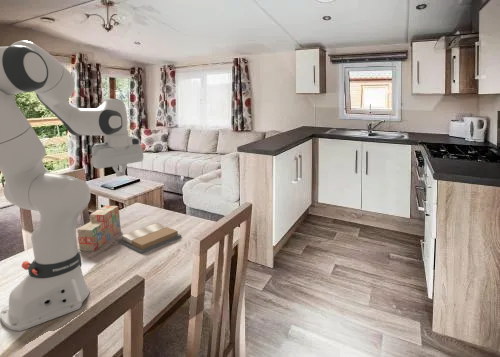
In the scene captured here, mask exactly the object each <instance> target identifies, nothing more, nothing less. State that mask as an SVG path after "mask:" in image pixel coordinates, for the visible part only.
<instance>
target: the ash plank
mask: <svg viewBox="0 0 500 357" xmlns="http://www.w3.org/2000/svg"><path fill="white" fill-rule="evenodd" d="M164 228H167V226H165V225H163V224H162V223H159V222H155V223H153V224H150V225H147V226H144V227H141V228H138V229H136V230H133V231H130V232H126V233H124V234H121V239H123V240H125V241H126V242H128V243H130V244H132V240H135V239H137V238H140V237H143V236H145V235H148V234H151V233H153V232H156V231H159V230H161V229H164Z"/></svg>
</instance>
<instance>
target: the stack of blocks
mask: <svg viewBox="0 0 500 357" xmlns="http://www.w3.org/2000/svg"><path fill="white" fill-rule="evenodd" d="M119 208H120V207H119V206H118V205H104V206H103V207H102V206H101V207H100V208H98V209H96V210H95V211H94V212H92V213H90V214H89V216H90V217H89V218H90V221H89V222H87V223H85V224H84V225H82V226H81V227H79V228H78V229H77V236H78V237H77V239H78V240H77V241H78V244H79V246H78V247H79V251H83V252H86V251H87V252H95V251H96V250H98V249H99V248H101V247H102V246H104V244H105V243H107V242H108V241H109V240H111V239H112V238H114V237H115V236H116V235H117V234H119V233H121V230H122V227H121V221H120V220H121V219H120V209H119Z"/></svg>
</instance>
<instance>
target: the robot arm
mask: <svg viewBox="0 0 500 357" xmlns="http://www.w3.org/2000/svg"><path fill="white" fill-rule="evenodd" d="M75 84H76V83H75V79H74V77H73V75H72V73H71V72H70V71H69V70H68V69H67V68H66V67H65V66H64V64H62V63H61V62H60V61H59V60H57V58H55V56H53V55H52V54H50V53H49V52H48V51H46V50H45V49H44V48H42V47H40V46H39V45H37V44H36V43H34V42H32V41H28V40H19V41H15V42H14V43H12V44H11V45H9V46H0V172H1V173H2V175H3V178H4V181H5V183H4V186H3V194H4V197H5V199H6V201H7V202H9V203H11V204H12V205H14V206H16V207H18V208H21V209H23V210H27V211H28V210H29V211H34V212H39V215H40V220H39V221H40V222H39V224H38V226H37V227H36V228H35V229H34V230H33V231H32V233H31V237H30V240H31V244H32V252H33V257H34V259H33V261H31V263H30V262H29V261H26V260H25V261H23V262H22V263H21V267H22V268H23V269H24V270H25V271H28V274H27V275H26V276H25V278H24V279H23V280H21V282H20V283H19V284H18V285H17V286H15V287H14V288H13V289H12V291H10V293H9V298H8V305H7V306H3V308H2V309H1V311H0V320H1V322H2V324H3V325H4V326H5V327H6V328H7V329H9V330H12V331H19V332H20V331H25V330H27V329H30V328H33V327H35V326H37V325H38V326H39V325H41V324H43V323H45V322H49V321H51V320H54V319H57V318H59V317H61V316H64V315H68V314H70V313H72V312H75V311H77V310H80V309H81V307H82V305H83V302H84V301H85V300H86V299H87V297H88V296H89V294H90V288H89V287H88V285H87V283H86V280H85V277H84V274H83V271H82V256H81V251H80V249H78V240H77V239H78V238H77V230H76V229H77V222H78V218H79V215H80V214H81V213H82V212H83V211H84V210H85V209H86V208H87V206H88V205H89V202H90V200H91V189H90V187H89V184H87V183H86V181H85V180H82V179H80V178H77V177H74V176H72V175H69V174H61V173H51V172H50V171H49V170H47V168H46V167H45V166H44V165H45V164H44V162H43V160H44V159H45V156H46V153H47V152H46V148H45V146H44V144H43V142H42V140H41V139H40V138H39V136H38V134H37V133H36V131H35V129H34V127H33V126H32V125H31V123H30V122H29V120H28V119H27V117H26V115H25V114H24V113H23V112H22V111H21V109H20V108H19V107H18V105H17V102H16V98H15V97H16V96H15V95H17V94H23V93H32V92H34V93H35V94H36V97H37V99H38V100H39V102H40V103H41V104H42V105H43V106H44V107H45V108H46V109H47V110H48V111H50V112H51V114H53V115H54V116H55V117H56V118H57V119H58V120H60V122H61V123H62V124H63V126H64V127H65V128H66V130H67V131H68V132H69V133H70V134H71V135H72V136H76V137H77V136H78V137H79V136H104V142H102V143H95V144H94V145H93V146H92V147H91V155H92V156H91V157H92V159H91V161H92V162H91V163H92V166H93V167H94V168H95V169H98V170H99V169H105V168H112V169H113V171H114V172H115V176H116V177H122V176H123V177H124V176H126V172H125V171H126V169H127V168H128V165H129V164H135V163H139V162H143V160H144V150H143V146H142V145H141V144H142V140H141V139H140V138H137V137H133V136H130V135H129V134H130V133H129V130H128V113H127V108H126V105H125V103H124V101H123V100H121V99H118V98H104V99H103V100H102V104H101V105H99V106H97V107H96V108H92V107H91V108H82V107H75V106H72V105H71V103H69V101H68V100H69V99H70V98H71V96H73V93H74V91H75ZM119 166H120V167H121V168H120V169H121V170H119Z"/></svg>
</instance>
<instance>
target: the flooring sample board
mask: <svg viewBox="0 0 500 357" xmlns="http://www.w3.org/2000/svg"><path fill="white" fill-rule="evenodd" d="M166 227H167V226H166ZM180 237H181V238H182V234H180V233H178V230H176V229H174V228H171V227H167V228H164V229H161V230H159V231H156V232H153V233H151V234H148V235H145V236H143V237H140V238H137V239H135V240H132V244H130V243H128V242H126V241H125V240H123V239H122V238H120V239H118V240H117V243H119V244H121V245H123V246H125V247H126V248H129V249H131V250H133V251H134V252H135V251H136V252H137V253H140V254H145V253H147V252H149V251H151V250H154V249H156V248H159V247H162V246H164V245H167V244H168V243H171V242H173V241H175V240H178V239H181V238H180Z"/></svg>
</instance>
